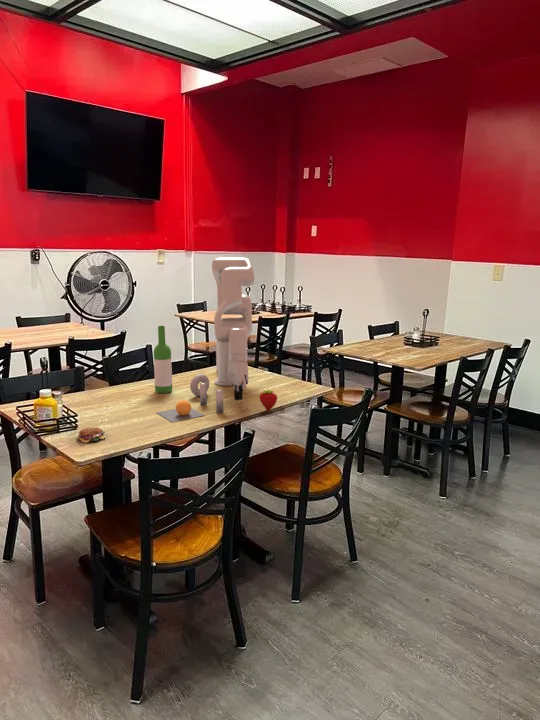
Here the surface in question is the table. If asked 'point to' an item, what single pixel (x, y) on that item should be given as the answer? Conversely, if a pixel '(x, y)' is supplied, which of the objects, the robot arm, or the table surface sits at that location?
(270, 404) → the strawberry
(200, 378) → the donut
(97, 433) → the hamburger
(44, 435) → the table surface
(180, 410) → the ball
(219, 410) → the post
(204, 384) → the post
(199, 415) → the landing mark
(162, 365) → the wine bottle
